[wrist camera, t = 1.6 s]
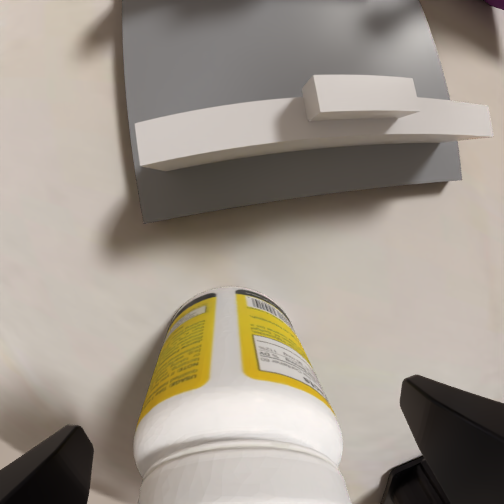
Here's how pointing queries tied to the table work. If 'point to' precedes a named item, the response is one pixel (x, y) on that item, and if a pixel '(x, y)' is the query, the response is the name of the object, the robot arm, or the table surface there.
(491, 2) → the purple potion bottle
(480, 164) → the table surface
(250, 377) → the supplement bottle
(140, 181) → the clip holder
